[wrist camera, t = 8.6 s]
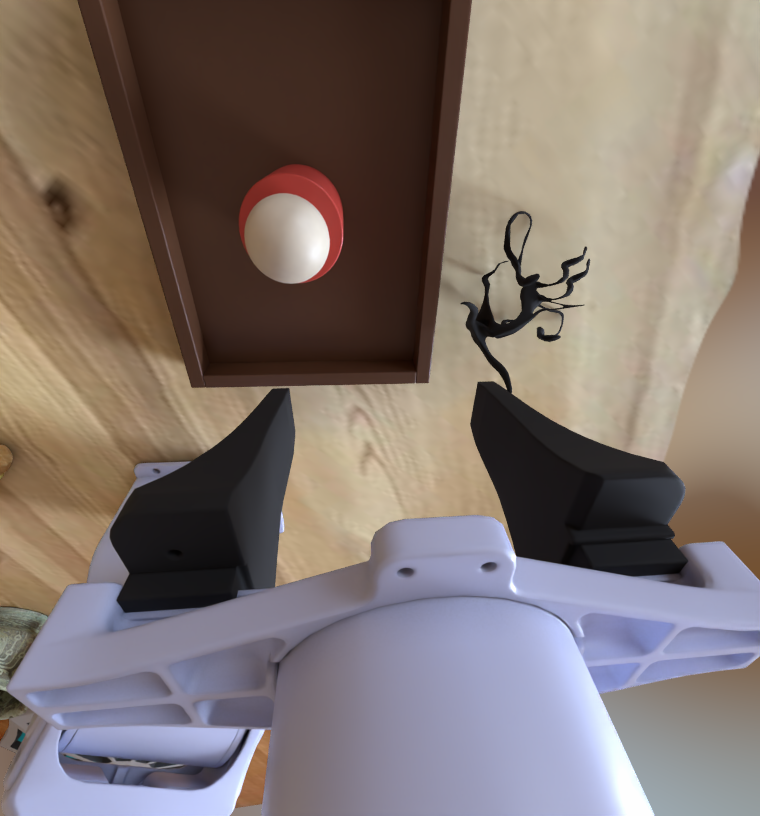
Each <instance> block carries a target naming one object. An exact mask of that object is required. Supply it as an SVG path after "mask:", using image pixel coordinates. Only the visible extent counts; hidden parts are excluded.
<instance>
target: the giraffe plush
mask: <svg viewBox="0 0 760 816" xmlns="http://www.w3.org/2000/svg"><path fill="white" fill-rule="evenodd" d="M11 463H12V454H11V451H10V450H9V449H8V447H7V446H5V445H1V444H0V479H1V478H2V477H3V476H4V473H5V472H6V471H7V470H8V469H9V468H10V466H11Z"/></svg>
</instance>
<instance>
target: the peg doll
mask: <svg viewBox="0 0 760 816" xmlns="http://www.w3.org/2000/svg"><path fill="white" fill-rule="evenodd" d="M239 232H240V236H241V240H242V243H243V245H244V248H245V250H246V252H247V253H248V255H249V256H250V258H251V260H252V261H253V263H254V264H255V266H256V267H257V268H258V269H259V270H260V271H261V272H262V273H263V274H265V275H266V276H268V277H269V278H271V279H273V280H275V281H278V282H282V283H290V284H293V283H305V282H310V281H313V280H315V279H317V278H319V277H321V276H323V275H324V274H325V273H327V272H328V271H329V270H330V269H331V268H332V266H333V265H334V264H335V262H336V260H337V259H338V257H339V254H340V252H341V248H342V244H343V207H342V203H341V199H340V196H339V194H338V192H337V190H336V188H335V187H334V185H333V184H332V182H331V181H330V180H329V179H328V178H327V177H326V176H325V175H324V174H322V173H321V172H320V171H318V170H316V169H315V168H312V167H310V166H306V165H301V164H291V165H286V166H283V167H281V168H279V169H277V170H275V171H274V172H272V173H271V174H269V175H267V176H266V177H264V178H263V179H261V180H259V181H258V182H257V183H256V184H254V185H253V186H252V188H251V189H250V190H249V191H248V193H247V194H246V196H245V198H244V200H243V202H242V205H241V208H240V213H239Z"/></svg>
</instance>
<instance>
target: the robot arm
mask: <svg viewBox="0 0 760 816" xmlns="http://www.w3.org/2000/svg"><path fill="white" fill-rule="evenodd" d="M470 425H471V429H472V433H473V437H474V440H475V443H476V446H477V449H478V451H479V453H480V456H481V458H482V460H483V462H484V465H485V467H486V469H487V471H488V473H489V476H490V478H491V480H492V482H493V484H494V487H495V489H496V491H497V494H498V496H499V499H500V502H501V505H502V508H503V511H504V514H505V517H506V521H507V524H508V527H509V531H510V534H511V538H512V541H513V545H514V549H515V553H516V556H515V554H514V551H513V549H512V546H511V544H510V541H509V539H508V537H507V534H506V532H505V529H504V527H503V524H501V523H500V522H499V521H497V520H496V519H495V518H493V517H488V516H480V515H466V516H449V517H432V518H414V519H402V520H398V521H394V522H389V523H388V524H386V525H385V526H383V527H382V528H381V529H379V530H378V531H376V532H375V534H374V537H373V539H372V542H371V556H370V560H369V561H366V562H362V563H359V564H355V565H352V566H348V567H345V568H341V569H338V570H334V571H331V572H327V573H324V574H320V575H316V576H313V577H309V578H306V579H302V580H299V581H295V582H292V583H288V584H285V585H281V586H278V587H275V579H276V565H277V553H278V542H279V533H282V532H283V531H284V521H283V515H282V505H283V500H284V495H285V491H286V486H287V482H288V477H289V473H290V468H291V463H292V459H293V454H294V442H295V426H294V419H293V412H292V405H291V398H290V391H289V388H280V389H272V390H271V391H270V392H269V393H268V394H267V395H266V397H265V398H264V399H263V400H262V401H261V402H260V404H259V405H258V406H257V407H256V408H255V409H254V410H253V412H252V413H251V414H250V415H249V416H248V417H247V418H246V419H245V420H244V421H243V422H242V423H241V424H240V425H239V426H238V427H237V428H236V429H235V430H234V431H233V432H232V433H231V434H229V435H228V436H227V437H226V438H225V439H223V440H222V441H221V442H219V443H218V444H217V445H216V446H214V447H213V448H211V449H210V450H208V451H207V452H205V453H204V454H202V455H201V456H199V457H198V458H196V459H195V460H193V461H190V462H161V463H139V464H137V465H136V466H135V468H134V473H135V475H136V477H137V479H136V480H135V482H134V484H133V486H132V487H131V489H130V491H129V492H128V494H127V496H126V497H125V499H124V501H123V503H122V504H121V506H120V508H119V509H118V511H117V513H116V514H115V516H114V518H113V520H112V521H111V523H110V525H109V526H108V528H107V530H106V531H105V533H104V535H103V537H102V538H101V540H100V542H99V544H98V546H97V548H96V550H95V552H94V555H93V557H92V561H91V564H90V568H89V573H88V578H87V583H80V584H71V585H68V586H67V587H66V588H65V590H64V592H63V593H62V595H61V597H60V598H59V600H58V602H57V603H56V605H55V607H54V608H53V610H52V612H51V613H50V615H49V617H48V618H47V620H46V621H45V623H44V625H43V626H42V628H41V630H40V631H39V633H38V635H37V636H36V638H35V640H34V641H33V643H32V645H31V646H30V648H29V650H28V651H27V653H26V655H25V656H24V658H23V660H22V661H21V663H20V665H19V666H18V668H17V670H16V671H15V673H14V675H13V676H12V678H11V680H10V681H9V683H8V685H7V686H6V690H7V692H8V693H10V694H11V695H12V696H13V697H15V698H16V699H17V700H19V701H20V702H21V703H23V704H24V705H25V706H27V707H28V708H29V709H31V710H32V711H33V712H34V714H33V717H32V719H31V721H30V723H29V725H28V728H27V730H26V735H25V737H24V739H23V741H22V743H21V744H20V746H19V748H18V750H17V752H16V754H15V756H14V758H13V759H12V761H11V764H10V766H9V768H8V770H7V773H6V775H5V778H4V781H3V785H4V788H5V791H4V794H3V797H2V800H1V807H2V811H3V813H4V816H230V814H231V813H232V812H233V810H234V807H235V804H236V800H237V797H238V796H239V794H240V791H241V788H242V784H243V781H244V778H245V775H246V772H247V769H248V766H249V764H250V761H251V758H252V756H253V753H254V751H255V748H256V746H257V744H258V743H259V741H260V739H261V737H262V735H263V733H264V731H265V730H271V736H270V744H269V753H268V762H267V770H266V779H265V787H264V796H263V804H262V813H261V816H655V815H654V813H653V811H652V809H651V807H650V804H649V802H648V800H647V798H646V796H645V793H644V791H643V789H642V787H641V785H640V782H639V780H638V778H637V776H636V774H635V772H634V769H633V767H632V765H631V763H630V761H629V759H628V756H627V754H626V752H625V750H624V748H623V745H622V743H621V741H620V739H619V737H618V734H617V732H616V730H615V728H614V726H613V724H612V721H611V719H610V717H609V715H608V713H607V710H606V708H605V706H604V704H603V702H602V699H601V697H600V695H599V694H602V693H606V692H611V691H615V690H620V689H625V688H629V687H634V686H639V685H643V684H648V683H652V682H657V681H662V680H666V679H672V678H677V677H682V676H687V675H693V674H700V673H706V672H713V671H721V670H729V669H739V668H745V667H747V666H748V665H749V664H751V663H752V662H753V661H754V660H755V659H757V658H758V657H759V656H760V581H759V580H758V579H757V577H756V576H755V575H754V574H753V573H752V572H751V571H750V570H749V569H748V568H747V567H746V566H745V564H743V562H742V561H741V560H740V559H739V558H738V557H737V556H736V555H735V554H734V553H733V552H732V550H731V549H730V548H729V547H728V546H727V545H726V544H725V543H724V542H707V543H691V544H686V545H684V546H682V547H680V548H679V549H678V548H677V546H676V545H675V544H674V543H673V541H672V540H671V539H673V538H674V536H675V534H674V532H673V531H672V529H671V528H670V527H669V526H668V525H667V524H668V523H669V521H670V520H671V518H672V517H673V515H674V514H675V512H676V511H677V509H678V508H679V506H680V505H681V502H682V501H683V499H684V496H685V486H684V484H683V482H682V481H681V479H680V478H679V477H678V476H677V475H676V474H675V473H674V472H673V471H672V470H671V469H670V468H669V467H668V466H667V465H666V464H665V463H664V462H661V461H657V460H653V459H649V458H645V457H641V456H638V455H634V454H630V453H627V452H624V451H621V450H618V449H615V448H612V447H609V446H606V445H603V444H601V443H598V442H596V441H593V440H591V439H588V438H586V437H584V436H581V435H579V434H577V433H575V432H573V431H571V430H569V429H567V428H565V427H563V426H561V425H559V424H557V423H555V422H554V421H552V420H550V419H549V418H547V417H545V416H544V415H542V414H540V413H539V412H537V411H536V410H534V409H533V408H531V407H530V406H528V405H527V404H525V403H524V402H522V401H521V400H520V399H518V398H517V397H515V396H514V395H513V394H511V393H510V392H508V391H507V390H506V389H504V388H503V387H501V386H500V385H498V384H497V383H495V382H478V384H477V389H476V395H475V401H474V406H473V412H472V417H471V423H470ZM156 469H158V470H156ZM60 752H62V753H72V754H82V755H92V756H102V757H112V758H122V759H132V760H142V761H152V762H162V763H171V764H181V765H185V766H183V767H181V768H174V769H160V768H149V767H139V766H128V765H118V764H107V763H96V762H86V761H77V760H74V759H71V758H68V757H65V756H64V755H63V754H61V753H60Z"/></svg>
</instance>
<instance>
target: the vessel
mask: <svg viewBox="0 0 760 816" xmlns="http://www.w3.org/2000/svg"><path fill="white" fill-rule="evenodd" d="M47 618H48V616H46V615H43V614H40V613H38V612H34V611H31V610H25V609H19V608H13V607H0V720H3V719H10V718H14V717H17V716H19V715H21V714H24V713H26V711H27V709H28V707H27V706H25V705H24V704H23V703H21V702H20V701H19V700H17V699H16V698H15V697H13V696H12V695H11V694H10V693H8V692H7V690H6V686H7V685H8V683H9V681H10V680H11V678H12V676H13V675H14V673H15V671H16V670H17V668H18V666H19V665H20V663H21V661H22V660H23V658H24V656H25V655H26V653H27V651H28V650H29V648H30V646H31V645H32V643H33V641H34V640H35V638H36V636H37V635H38V633H39V631H40V630H41V628H42V626H43V625H44V623H45V621H46V620H47Z"/></svg>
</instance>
